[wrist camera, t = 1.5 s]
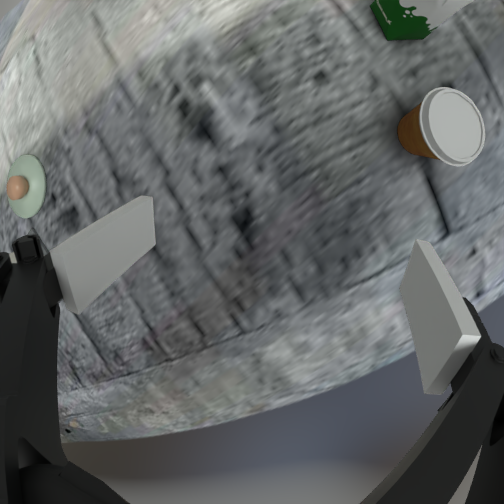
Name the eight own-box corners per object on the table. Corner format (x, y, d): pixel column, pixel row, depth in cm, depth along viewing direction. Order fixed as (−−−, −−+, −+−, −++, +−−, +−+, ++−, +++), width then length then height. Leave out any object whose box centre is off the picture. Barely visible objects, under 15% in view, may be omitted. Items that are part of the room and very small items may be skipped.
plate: (3, 185, 43) (0, 186, 42) (29, 141, 41) (26, 141, 40) (27, 230, 45) (24, 231, 44) (55, 187, 42) (53, 187, 42)
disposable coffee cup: (451, 145, 36) (498, 141, 24) (411, 178, 38) (454, 182, 26) (417, 93, 35) (458, 72, 23) (374, 123, 37) (409, 107, 25)
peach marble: (14, 186, 42) (4, 188, 39) (24, 170, 41) (13, 170, 38) (23, 203, 43) (13, 205, 40) (33, 186, 42) (22, 188, 39)
